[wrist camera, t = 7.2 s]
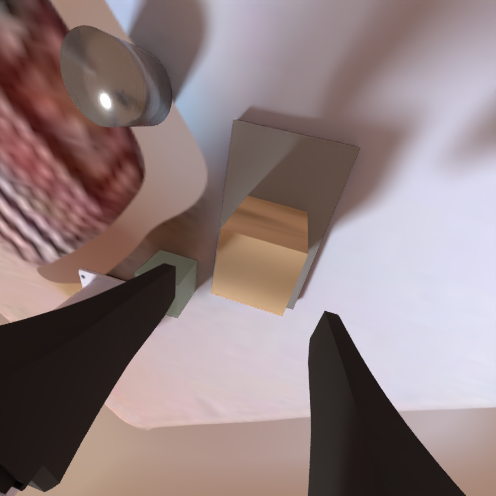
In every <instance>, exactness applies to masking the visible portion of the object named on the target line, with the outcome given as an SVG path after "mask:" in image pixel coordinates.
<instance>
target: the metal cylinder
mask: <svg viewBox="0 0 496 496" xmlns="http://www.w3.org/2000/svg"><path fill="white" fill-rule="evenodd" d="M60 68H61V74H62V78H63V81H64V84H65V87H66V89H67V92H68V94H69V96H70V98H71V99H72V101H73V102H74V104H75V105H76V107H77V108H78V109H79V110H80V111H81V113H82V114H83V115H84V116H86V117H87V118H88V119H89V120H91V121H92V122H94V123H96V124H98V125H101V126H104V127H136V126H155V125H158V124H160V123H161V122H162V121H164V120H165V118H166V117H167V115H168V113H169V111H170V108H171V104H172V90H171V84H170V81H169V78H168V75H167V73H166V71H165V69H164V67H163V66H162V64H161V63H160V62H159V60H158V59H157V58H156V57H155V56H153V55H152V54H151V53H149V52H147V51H145V50H143V49H141V48H139V47H137V46H134V45H132V44H130V43H128V42H126V41H123V40H121V39H119V38H117V37H114V36H112V35H110V34H108V33H105V32H103V31H101V30H99V29H97V28H94V27H91V26H85V25H84V26H78V27H75V28H73V29H72V30H70V31H69V32H68V33H67V35H66V36H65V38H64V40H63V42H62V46H61V51H60Z"/></svg>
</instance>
